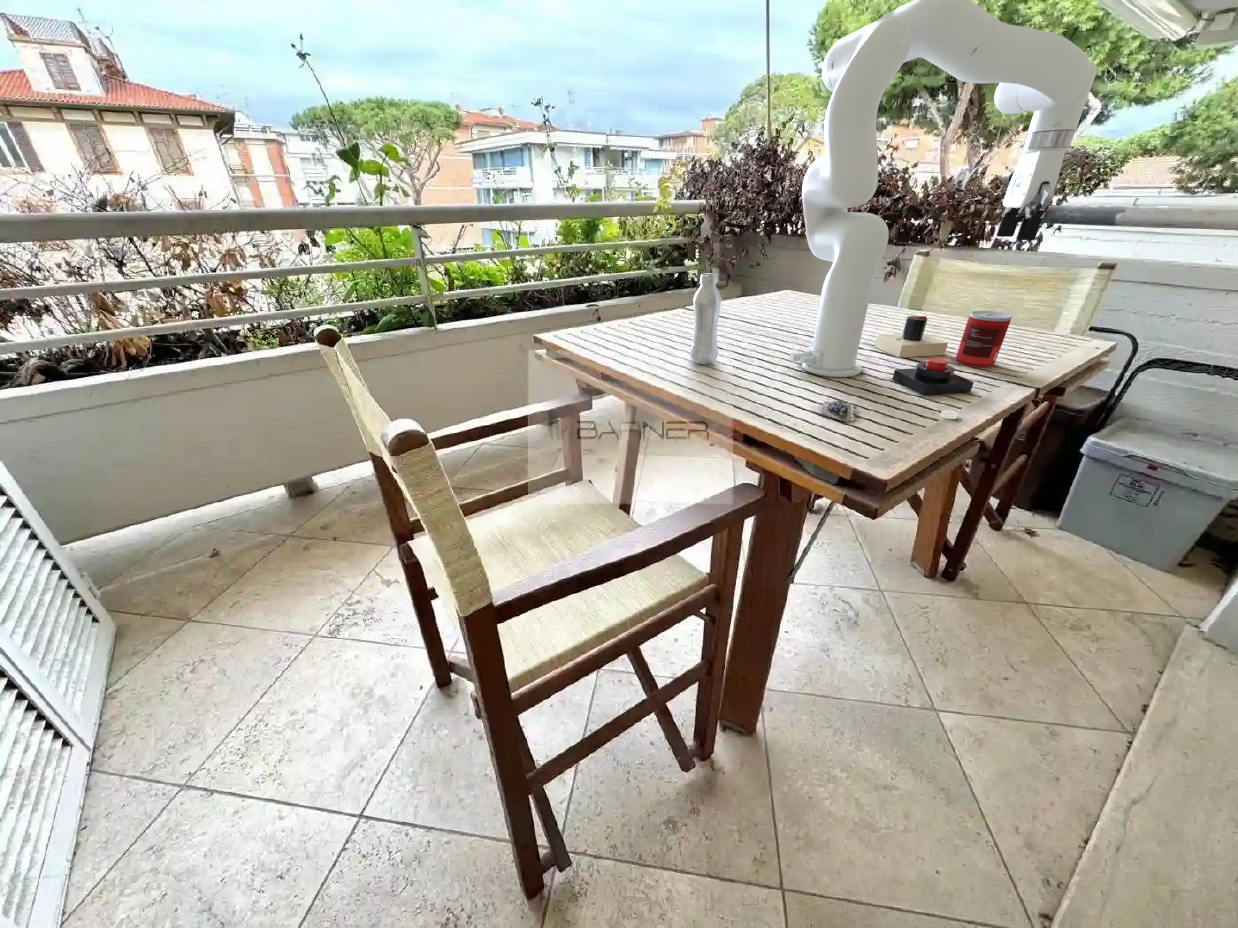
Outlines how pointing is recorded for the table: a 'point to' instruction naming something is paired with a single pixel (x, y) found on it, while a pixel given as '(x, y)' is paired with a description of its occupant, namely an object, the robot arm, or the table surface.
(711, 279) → the plastic bottle
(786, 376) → the table surface
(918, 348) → the beige flat block
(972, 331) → the canned food
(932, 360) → the button
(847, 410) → the blueberries
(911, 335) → the knob
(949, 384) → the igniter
